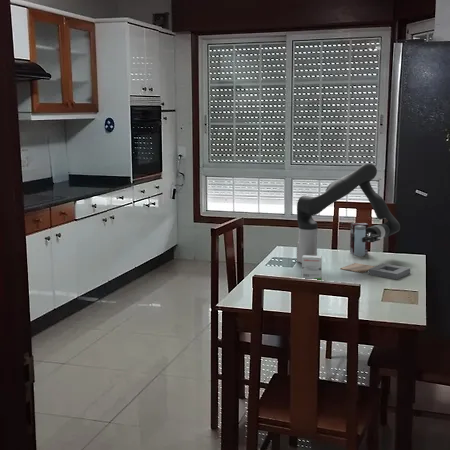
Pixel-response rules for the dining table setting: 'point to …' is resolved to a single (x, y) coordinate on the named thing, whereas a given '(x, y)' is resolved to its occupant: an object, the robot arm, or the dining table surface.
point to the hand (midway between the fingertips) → (357, 239)
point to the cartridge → (359, 240)
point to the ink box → (312, 267)
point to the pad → (357, 267)
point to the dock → (389, 271)
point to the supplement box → (353, 232)
